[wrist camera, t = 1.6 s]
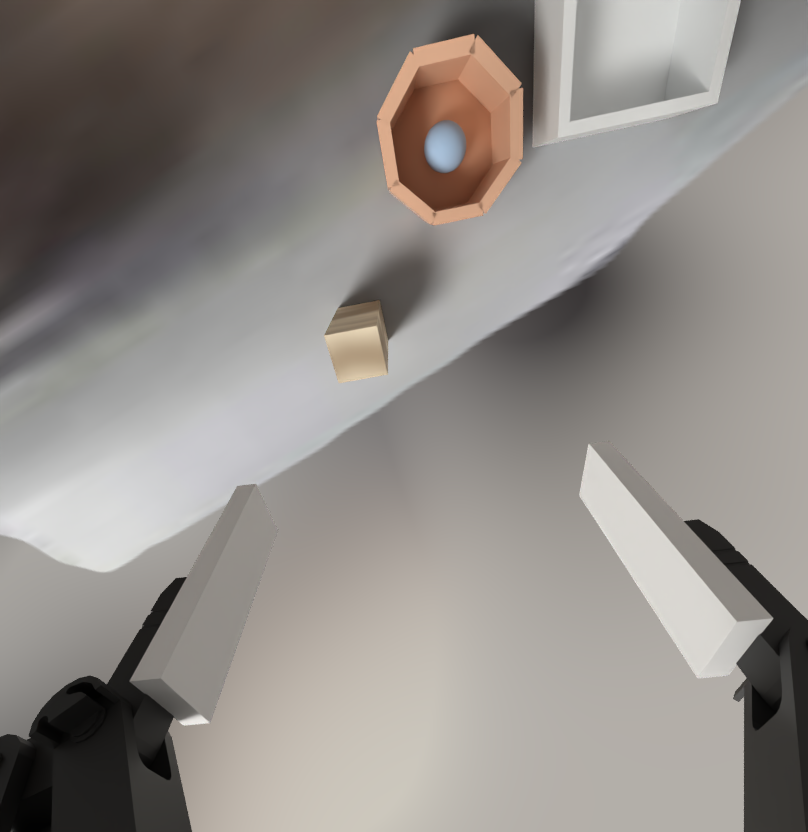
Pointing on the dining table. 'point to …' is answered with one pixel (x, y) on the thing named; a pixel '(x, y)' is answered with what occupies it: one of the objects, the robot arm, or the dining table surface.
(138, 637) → the robot arm
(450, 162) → the ball
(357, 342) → the block
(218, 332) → the dining table surface
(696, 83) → the tray white
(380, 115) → the terracotta cup
